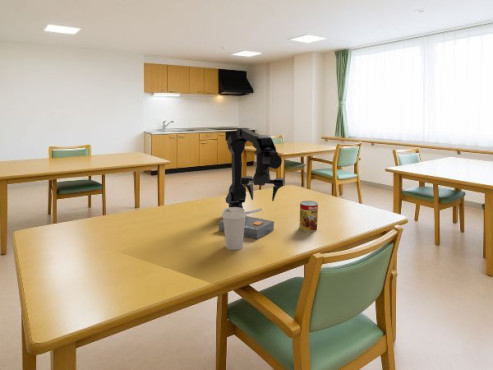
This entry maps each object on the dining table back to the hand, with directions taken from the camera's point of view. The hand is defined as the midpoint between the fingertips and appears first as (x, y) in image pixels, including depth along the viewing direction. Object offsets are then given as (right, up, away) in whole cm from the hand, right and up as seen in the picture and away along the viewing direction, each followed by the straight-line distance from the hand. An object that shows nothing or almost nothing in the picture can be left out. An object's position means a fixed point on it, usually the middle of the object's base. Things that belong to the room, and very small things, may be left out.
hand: (262, 200), depth 161 cm
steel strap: (-7, -6, +1) cm, 10 cm away
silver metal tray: (-7, -13, +2) cm, 15 cm away
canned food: (+21, -13, +4) cm, 25 cm away
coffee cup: (-12, -18, -17) cm, 27 cm away
